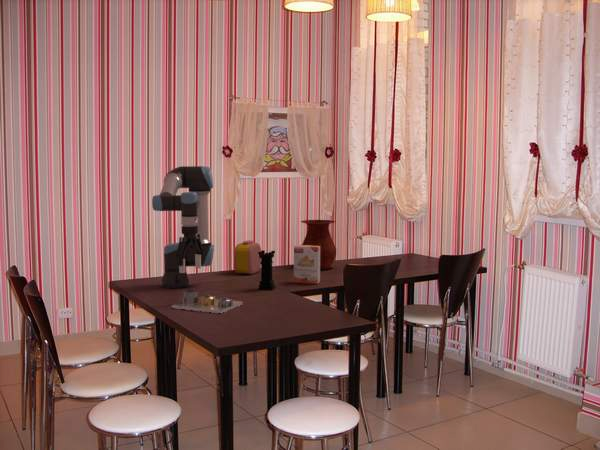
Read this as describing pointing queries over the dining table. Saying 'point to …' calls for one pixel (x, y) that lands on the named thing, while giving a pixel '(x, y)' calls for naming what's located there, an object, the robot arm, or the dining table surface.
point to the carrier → (209, 304)
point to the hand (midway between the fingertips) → (190, 270)
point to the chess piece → (266, 271)
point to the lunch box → (247, 257)
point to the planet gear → (190, 296)
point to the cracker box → (306, 264)
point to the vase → (321, 240)
